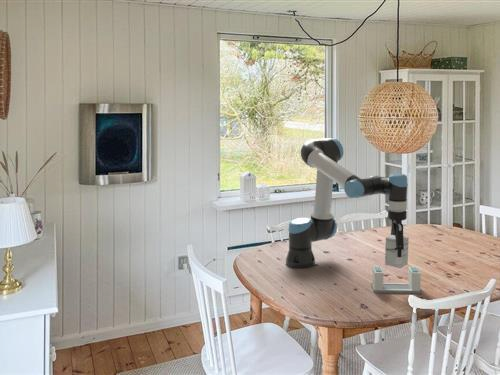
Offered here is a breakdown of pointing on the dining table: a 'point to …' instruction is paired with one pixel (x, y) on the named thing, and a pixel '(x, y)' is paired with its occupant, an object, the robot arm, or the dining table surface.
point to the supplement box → (391, 252)
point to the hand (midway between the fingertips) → (396, 259)
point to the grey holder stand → (409, 287)
